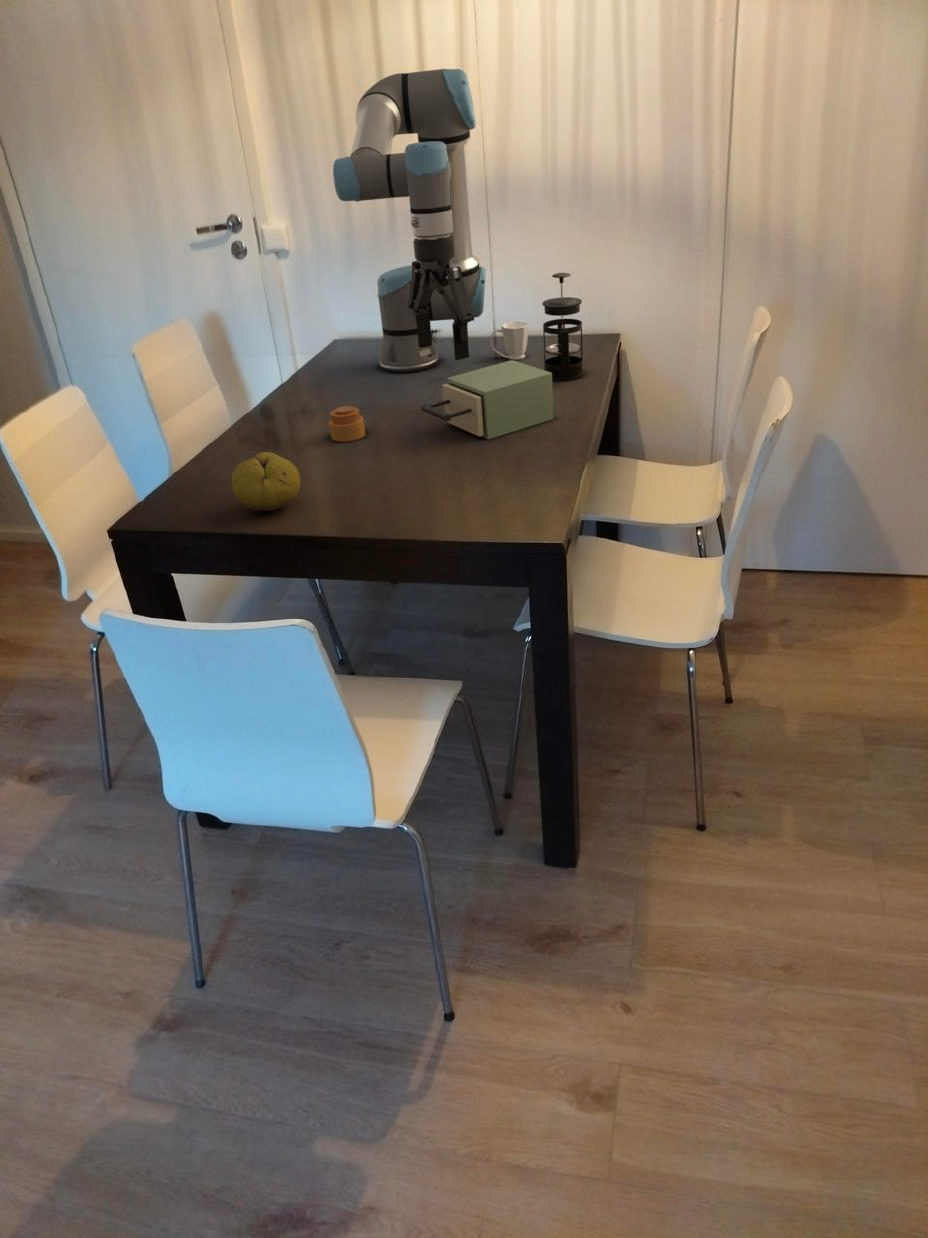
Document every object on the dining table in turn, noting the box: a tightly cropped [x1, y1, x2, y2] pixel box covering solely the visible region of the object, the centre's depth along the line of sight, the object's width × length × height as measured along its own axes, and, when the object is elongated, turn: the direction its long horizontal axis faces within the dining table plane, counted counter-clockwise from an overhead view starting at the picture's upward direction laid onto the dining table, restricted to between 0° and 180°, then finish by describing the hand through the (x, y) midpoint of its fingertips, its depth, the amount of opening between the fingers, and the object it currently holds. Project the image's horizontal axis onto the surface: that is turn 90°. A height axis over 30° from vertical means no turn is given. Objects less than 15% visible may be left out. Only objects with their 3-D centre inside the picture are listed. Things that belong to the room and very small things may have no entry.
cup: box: [489, 321, 530, 361], centre depth 235 cm, size 7×10×8 cm
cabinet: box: [446, 359, 554, 440], centre depth 194 cm, size 17×14×10 cm
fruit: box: [231, 451, 301, 512], centre depth 164 cm, size 11×12×10 cm
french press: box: [541, 272, 585, 382], centre depth 215 cm, size 12×9×23 cm
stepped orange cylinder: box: [328, 405, 366, 443], centre depth 195 cm, size 7×7×6 cm
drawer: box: [421, 383, 485, 437], centre depth 192 cm, size 22×13×8 cm, turn 124°
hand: (443, 352), depth 182 cm, fingers open, 13 cm apart
